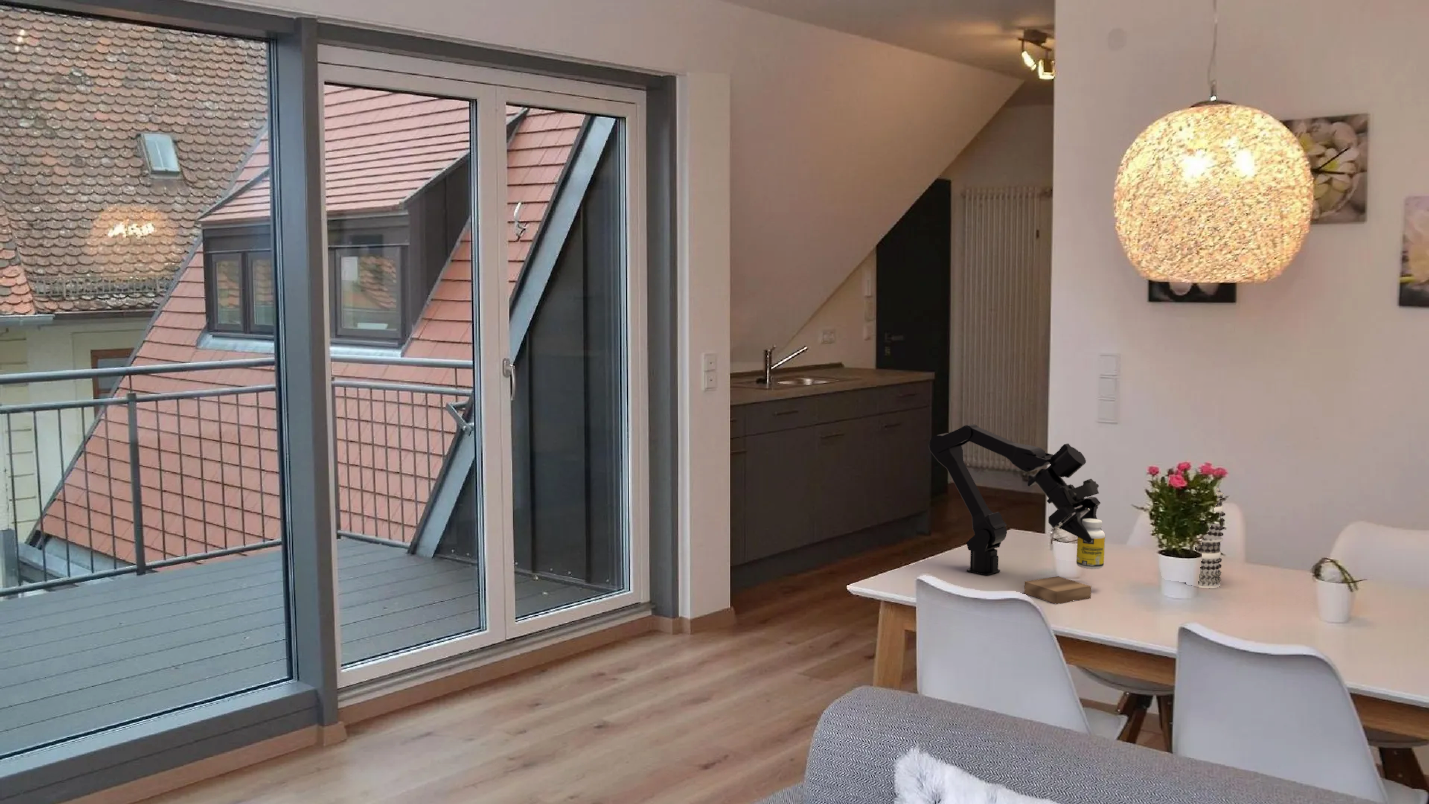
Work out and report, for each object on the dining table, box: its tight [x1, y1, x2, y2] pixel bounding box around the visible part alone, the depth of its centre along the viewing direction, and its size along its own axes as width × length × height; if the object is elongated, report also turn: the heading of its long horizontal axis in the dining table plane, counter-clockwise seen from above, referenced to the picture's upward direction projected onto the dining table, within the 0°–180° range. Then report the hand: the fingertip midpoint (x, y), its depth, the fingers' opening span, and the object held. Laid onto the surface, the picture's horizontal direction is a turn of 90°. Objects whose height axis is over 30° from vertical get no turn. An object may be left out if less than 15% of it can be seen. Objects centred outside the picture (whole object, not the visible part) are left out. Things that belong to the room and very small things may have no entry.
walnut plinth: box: [1023, 576, 1092, 605], centre depth 292 cm, size 11×11×3 cm
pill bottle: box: [1076, 518, 1106, 570], centre depth 296 cm, size 6×6×12 cm
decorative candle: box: [1195, 486, 1226, 589], centre depth 303 cm, size 9×9×25 cm
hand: (1096, 539), depth 295 cm, fingers closed on pill bottle, 6 cm apart
